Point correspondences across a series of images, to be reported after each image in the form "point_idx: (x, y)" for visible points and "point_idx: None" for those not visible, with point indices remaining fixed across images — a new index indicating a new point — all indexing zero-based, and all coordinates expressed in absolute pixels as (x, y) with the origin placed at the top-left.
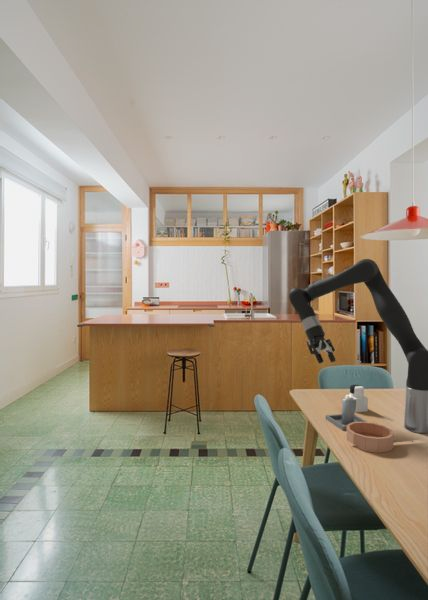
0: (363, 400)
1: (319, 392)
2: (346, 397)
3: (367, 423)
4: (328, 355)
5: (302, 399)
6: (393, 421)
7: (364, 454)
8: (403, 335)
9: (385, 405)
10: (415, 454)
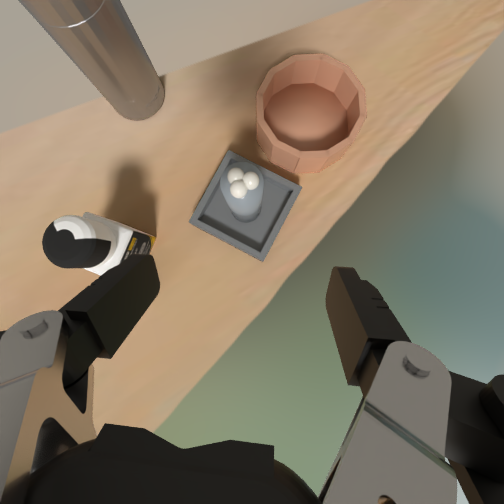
0: (107, 219)
1: None
2: (253, 181)
3: (270, 130)
4: (116, 344)
5: (151, 415)
6: (128, 151)
7: None
8: None
9: (15, 221)
10: (282, 44)
